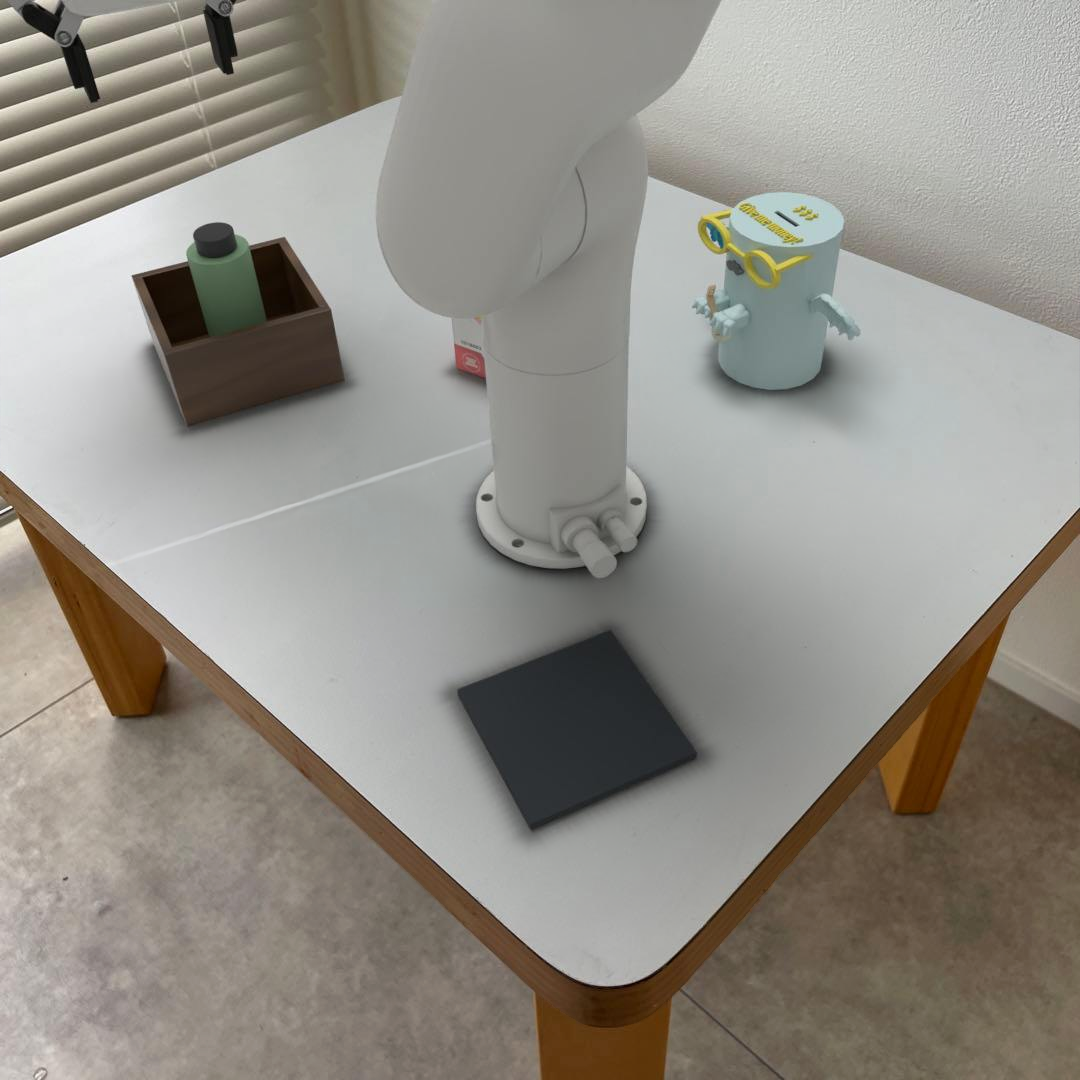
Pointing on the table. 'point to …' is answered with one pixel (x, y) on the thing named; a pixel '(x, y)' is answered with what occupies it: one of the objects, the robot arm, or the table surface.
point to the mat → (574, 727)
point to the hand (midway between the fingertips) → (159, 81)
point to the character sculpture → (775, 288)
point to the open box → (242, 338)
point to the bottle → (225, 279)
